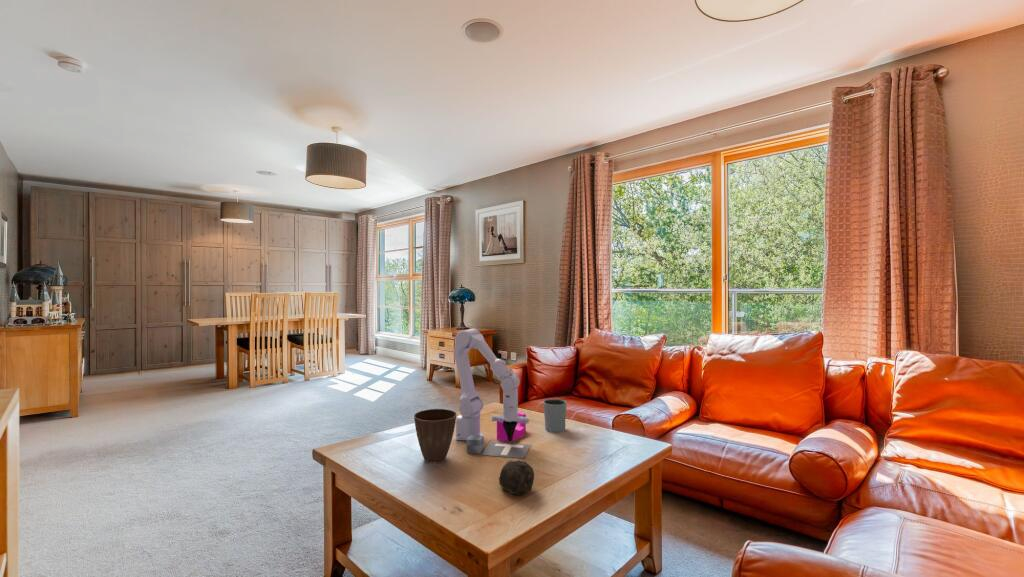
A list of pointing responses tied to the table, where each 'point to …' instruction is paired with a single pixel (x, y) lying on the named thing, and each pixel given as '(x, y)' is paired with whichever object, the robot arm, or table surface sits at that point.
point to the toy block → (517, 433)
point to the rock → (517, 477)
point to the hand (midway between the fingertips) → (510, 440)
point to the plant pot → (435, 433)
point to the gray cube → (474, 444)
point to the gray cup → (555, 415)
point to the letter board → (506, 450)
